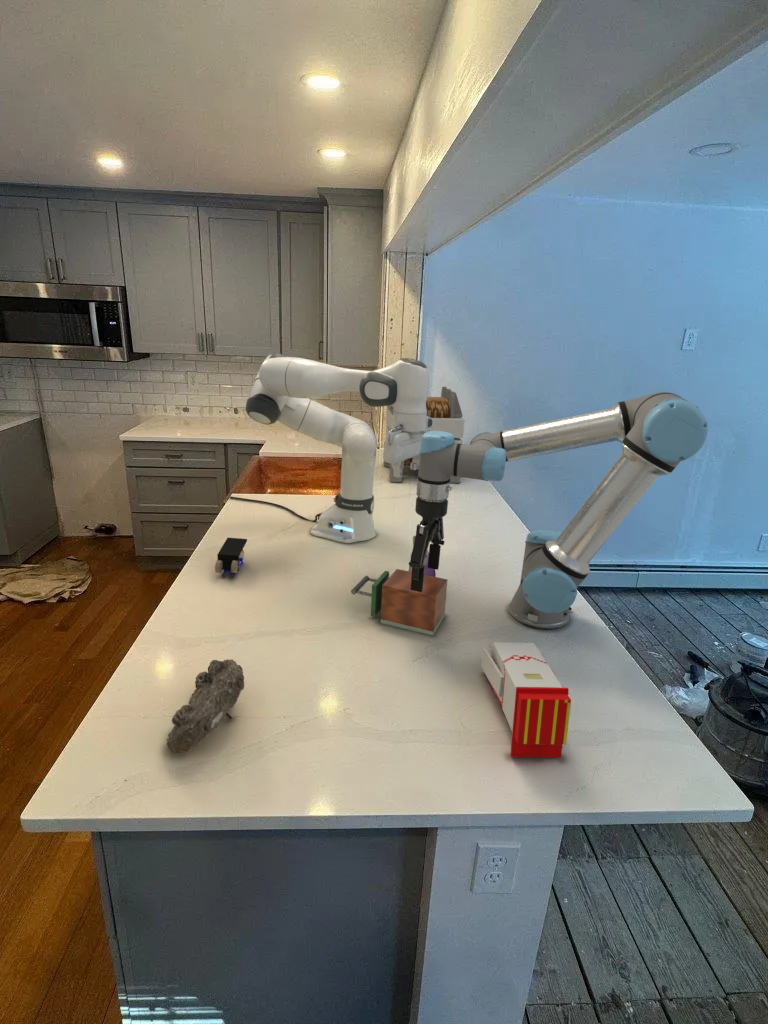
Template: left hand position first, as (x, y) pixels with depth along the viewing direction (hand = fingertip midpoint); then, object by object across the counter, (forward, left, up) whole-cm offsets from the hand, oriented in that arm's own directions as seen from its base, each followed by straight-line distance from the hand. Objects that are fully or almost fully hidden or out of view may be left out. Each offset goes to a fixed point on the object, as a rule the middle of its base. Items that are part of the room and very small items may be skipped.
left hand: (405, 473), depth 154 cm
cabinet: (+9, -20, -33) cm, 39 cm away
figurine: (+6, 0, -33) cm, 33 cm away
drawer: (+2, -19, -32) cm, 37 cm away
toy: (+36, -46, -33) cm, 67 cm away
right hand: (+11, -20, -21) cm, 31 cm away
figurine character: (-48, -11, -33) cm, 59 cm away
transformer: (-20, +115, -33) cm, 121 cm away
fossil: (-19, -68, -33) cm, 78 cm away
